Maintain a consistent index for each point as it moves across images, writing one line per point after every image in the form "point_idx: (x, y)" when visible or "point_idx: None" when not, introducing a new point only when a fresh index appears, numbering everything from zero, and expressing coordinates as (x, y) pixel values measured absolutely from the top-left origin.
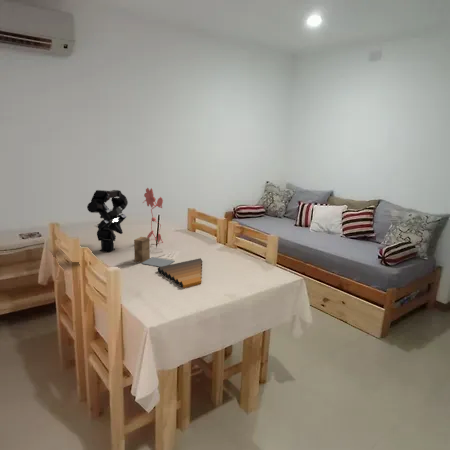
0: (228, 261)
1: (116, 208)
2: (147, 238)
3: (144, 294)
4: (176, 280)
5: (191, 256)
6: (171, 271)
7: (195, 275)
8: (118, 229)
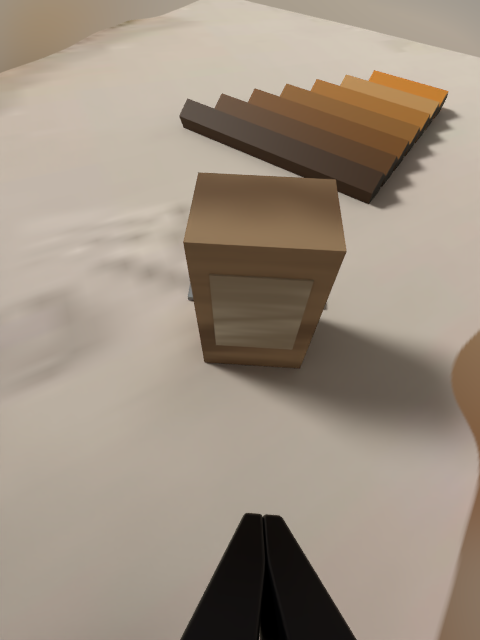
0: (140, 75)
1: None
2: (226, 177)
3: None
4: (432, 114)
5: (110, 162)
6: (386, 134)
7: (366, 82)
8: (346, 638)
